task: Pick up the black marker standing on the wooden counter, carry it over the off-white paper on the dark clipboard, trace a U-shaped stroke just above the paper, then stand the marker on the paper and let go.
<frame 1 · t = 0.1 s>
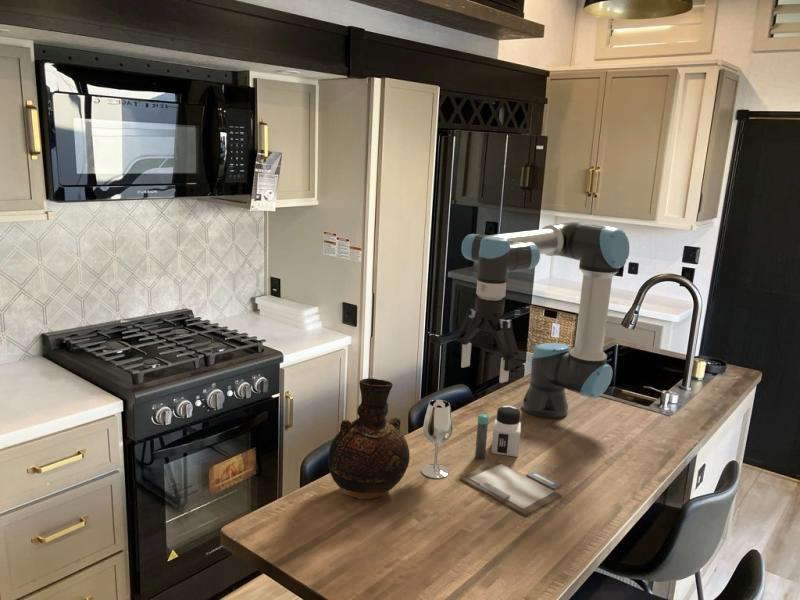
hand: (483, 373, 173), 28 cm above the kitchen island, fingers open, 13 cm apart
wineglass: (434, 472, 176), on the kitchen island
clipboard: (510, 488, 170), on the kitchen island
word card: (543, 480, 174), on the kitchen island
marker: (479, 457, 185), on the kitchen island
ceramic vessel: (367, 492, 165), on the kitchen island
container: (505, 450, 191), on the kitchen island
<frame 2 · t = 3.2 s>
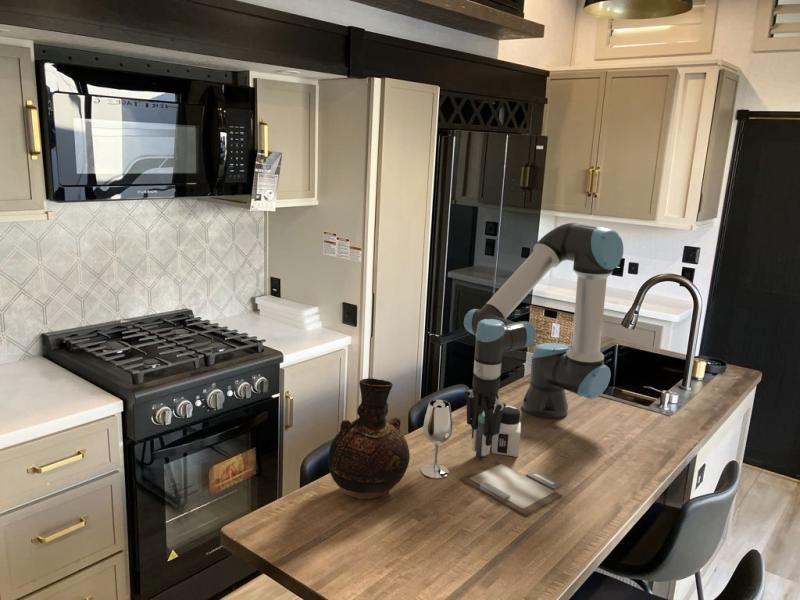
hand: (480, 451, 185), 2 cm above the kitchen island, fingers closed on marker, 3 cm apart
marker: (480, 456, 185), on the kitchen island, touching gripper
everything else where it was.
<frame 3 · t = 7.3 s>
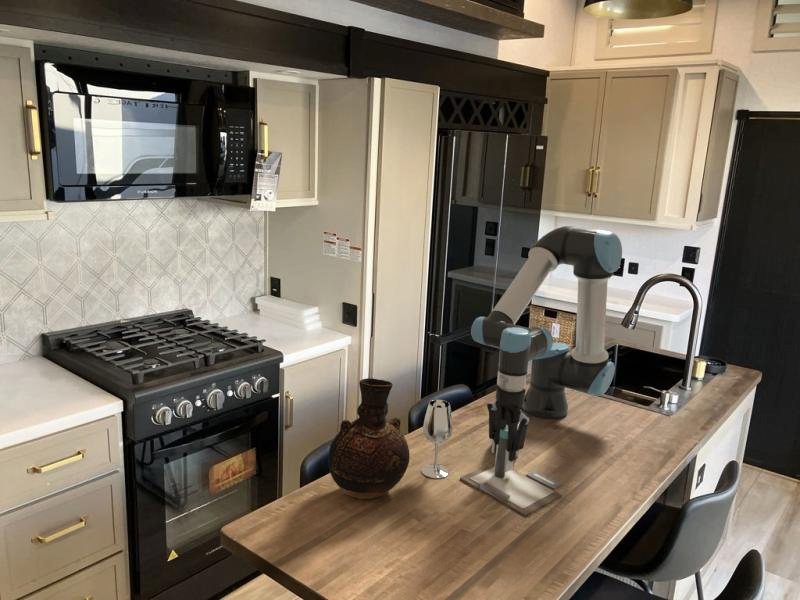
hand: (503, 468, 175), 3 cm above the kitchen island, fingers closed on marker, 2 cm apart
marker: (499, 475, 174), point 1 cm above the kitchen island, touching clipboard, gripper
everything else where it was.
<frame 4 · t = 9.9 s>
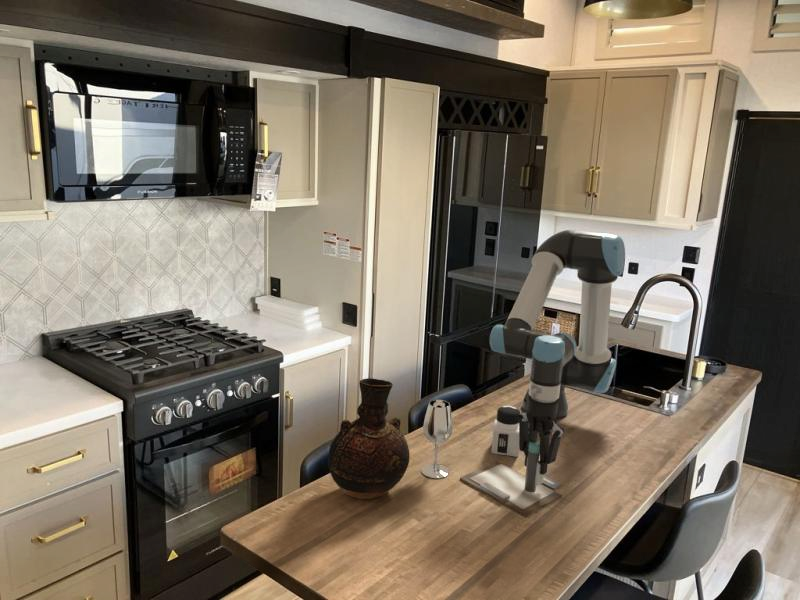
hand: (534, 481, 168), 3 cm above the kitchen island, fingers closed on marker, 2 cm apart
marker: (529, 489, 168), point 1 cm above the kitchen island, touching clipboard, gripper
everything else where it was.
when the fingers open (3 cm above the kitchen island, at t = 11.8 s): marker stays where it is, resting on clipboard.
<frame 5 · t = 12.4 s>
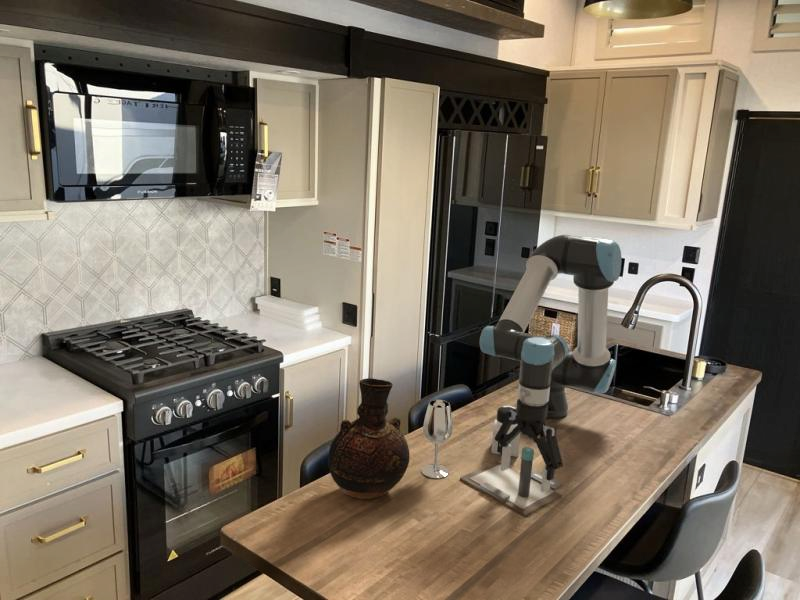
hand: (524, 479, 164), 5 cm above the kitchen island, fingers open, 12 cm apart
marker: (523, 493, 165), point 1 cm above the kitchen island, tilted 7°, touching clipboard
everything else where it was.
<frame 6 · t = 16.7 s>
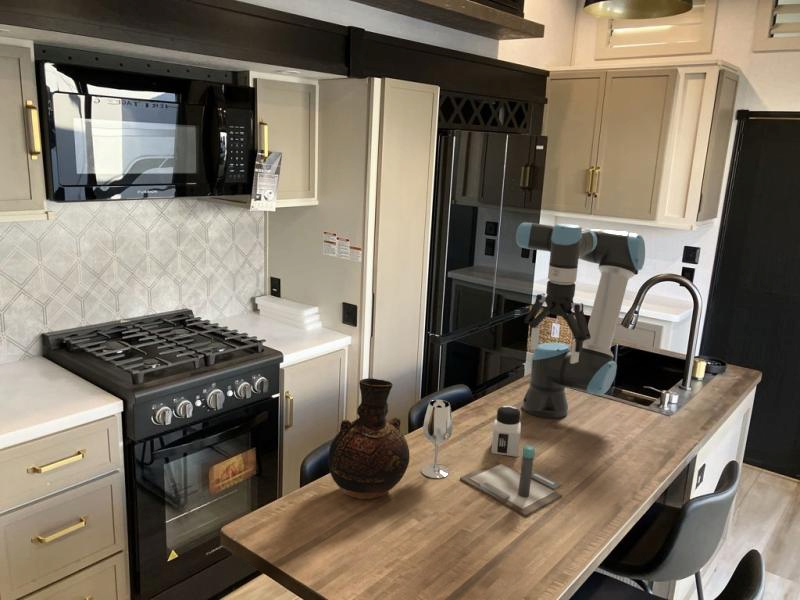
hand: (553, 355, 181), 31 cm above the kitchen island, fingers open, 13 cm apart
marker: (523, 494, 165), point 1 cm above the kitchen island, touching clipboard
everything else where it was.
at the end: marker inside the target area on the clipboard (5.0 cm from its centre), point 0.8 cm above the clipboard's base; marker tilted 1°; the gripper is holding nothing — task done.
